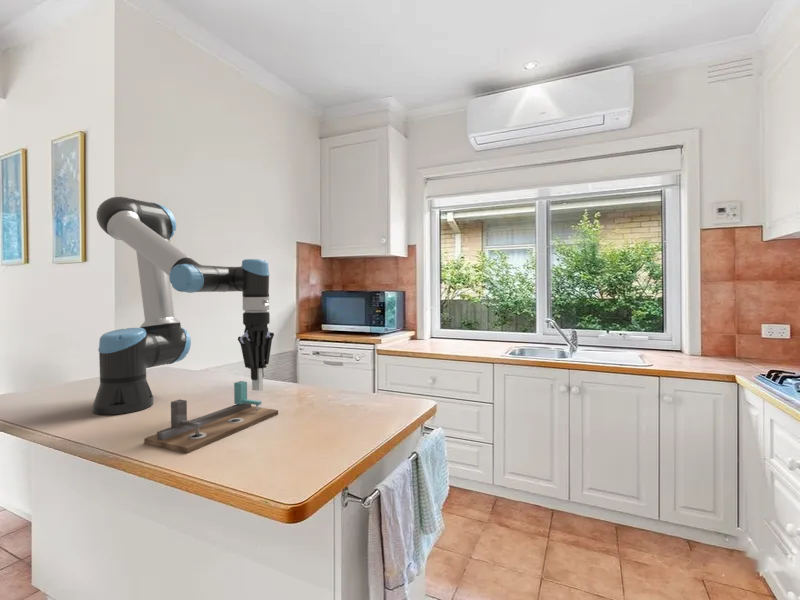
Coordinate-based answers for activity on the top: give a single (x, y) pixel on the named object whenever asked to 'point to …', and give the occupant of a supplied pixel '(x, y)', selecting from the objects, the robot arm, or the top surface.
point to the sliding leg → (243, 395)
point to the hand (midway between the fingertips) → (257, 389)
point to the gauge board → (206, 426)
